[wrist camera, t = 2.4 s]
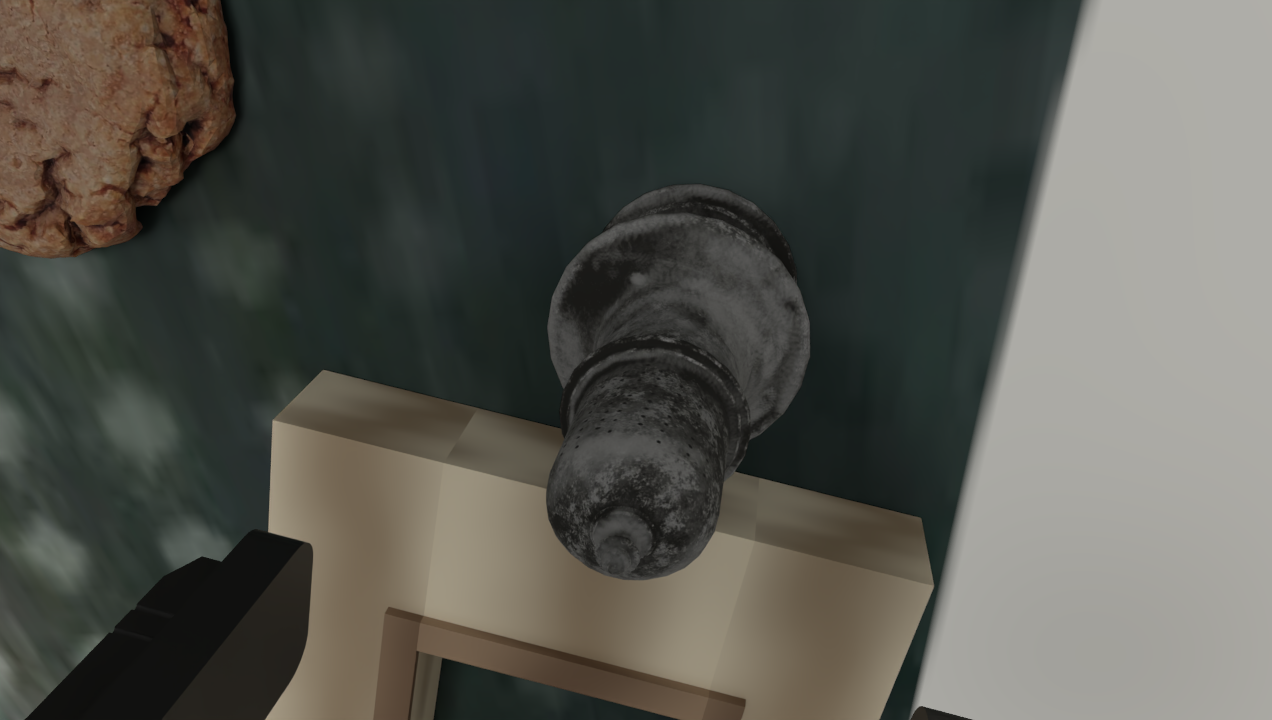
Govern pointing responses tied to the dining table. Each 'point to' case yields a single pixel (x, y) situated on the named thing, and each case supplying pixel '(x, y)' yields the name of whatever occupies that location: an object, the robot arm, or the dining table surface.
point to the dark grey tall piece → (668, 373)
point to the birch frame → (568, 576)
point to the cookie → (103, 114)
